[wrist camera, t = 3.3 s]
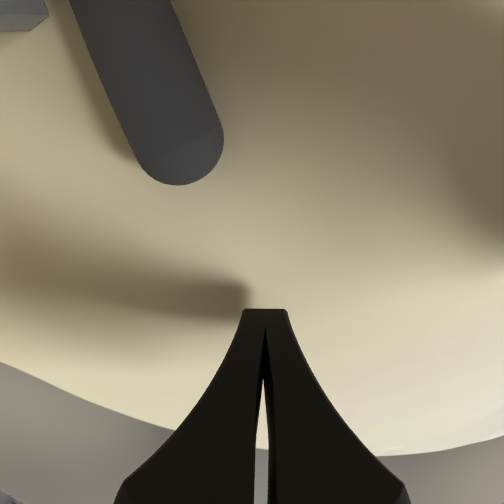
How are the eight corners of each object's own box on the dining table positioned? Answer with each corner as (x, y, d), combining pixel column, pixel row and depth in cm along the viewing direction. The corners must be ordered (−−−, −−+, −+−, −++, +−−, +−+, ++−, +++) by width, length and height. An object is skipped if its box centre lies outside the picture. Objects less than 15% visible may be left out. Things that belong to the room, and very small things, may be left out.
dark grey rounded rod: (239, 153, 9) (233, 181, 7) (169, 179, 9) (145, 212, 7) (140, -82, 4) (110, -110, 3) (75, -45, 5) (33, -59, 3)
